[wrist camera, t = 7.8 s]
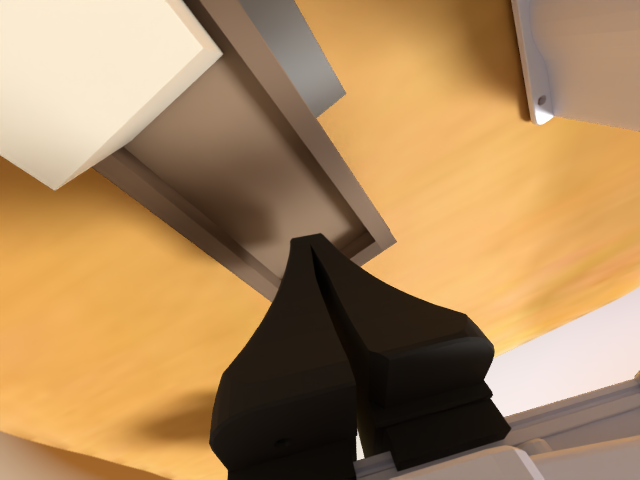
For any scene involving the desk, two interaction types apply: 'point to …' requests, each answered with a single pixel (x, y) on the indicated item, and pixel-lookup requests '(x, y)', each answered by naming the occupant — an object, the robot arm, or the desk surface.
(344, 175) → the balance beam
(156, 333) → the desk surface
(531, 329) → the desk surface
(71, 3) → the block
